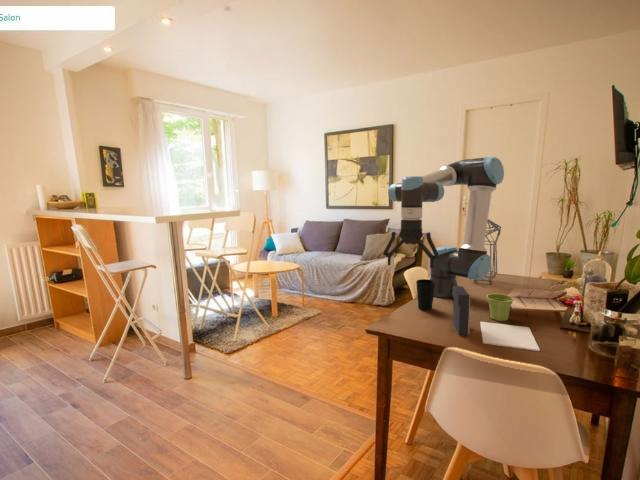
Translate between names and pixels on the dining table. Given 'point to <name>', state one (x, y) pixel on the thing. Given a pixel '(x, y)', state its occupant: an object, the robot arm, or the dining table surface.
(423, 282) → the cup
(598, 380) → the dining table surface
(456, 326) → the dark navy block
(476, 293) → the dining table surface
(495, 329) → the felt mat
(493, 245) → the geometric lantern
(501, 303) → the plant pot
